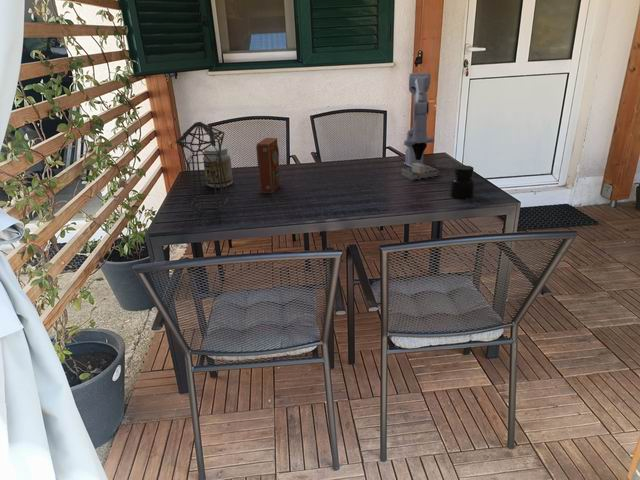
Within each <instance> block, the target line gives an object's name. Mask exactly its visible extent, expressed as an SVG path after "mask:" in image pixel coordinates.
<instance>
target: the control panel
mask: <svg viewBox="0 0 640 480" xmlns="http://www.w3.org/2000/svg"><path fill="white" fill-rule="evenodd" d="M255 148H256V150H255V151H256V160H257V168H258V174H259V187H260V193H261V194H273V193H274V192H275V191H276V190H277V189H278V188H279V186H281V175H280V153H279V150H280V149H279V146H278V137H264V138H263V139H262V140H260V141H259V142H257V143H256V146H255Z"/></svg>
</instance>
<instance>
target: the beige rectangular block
mask: <svg viewBox="0 0 640 480" xmlns="http://www.w3.org/2000/svg"><path fill="white" fill-rule="evenodd" d="M411 169H412V170H414V171H416V172H418V173H425V170H426V166H424V165H422V164H420V163H412V167H411Z"/></svg>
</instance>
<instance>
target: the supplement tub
mask: <svg viewBox="0 0 640 480" xmlns="http://www.w3.org/2000/svg"><path fill="white" fill-rule="evenodd" d="M214 146H215V148H216V149H217V151H218V150H219V151H220V149H219V145H214ZM214 146H213V145H211V146H209V147H208V148H206V149H204V150H203V152H204V154H218V152H217V151H216V149H215V148H214ZM228 151H229V150H228V147H227V146H224V145H221V159H222V164H223V170H224V175H225V180H226V185H227V187H228V186H231V185H232V184H233V183H234V182H233V181H234V179H233V169H232V161H231V160H232V159H231V155H230V153H228ZM206 156H207V157H208V158H209V160H210V161H211V162H213V161H216V158H218V157H217V155H206ZM209 160H208V159H207V158H206V157H205V156H204V155H202V161H203V162H209ZM220 165H221V161H220ZM212 166H213V172H214V179H215V185H216V189H217V188H219V189H220V186H219V180H218V175H217V170H216V164H215V163H212ZM217 167H218V172H219V178H220V183H221V176H220V168H219V161H218V160H217ZM203 168H204V175H205V183H206V185H207V187H210V188H214V182H213V176H212V169H211V163H203ZM221 173H222V181H223V188H226V187H225V182H224V177H223V172H222V167H221ZM221 188H222V184H221Z"/></svg>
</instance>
